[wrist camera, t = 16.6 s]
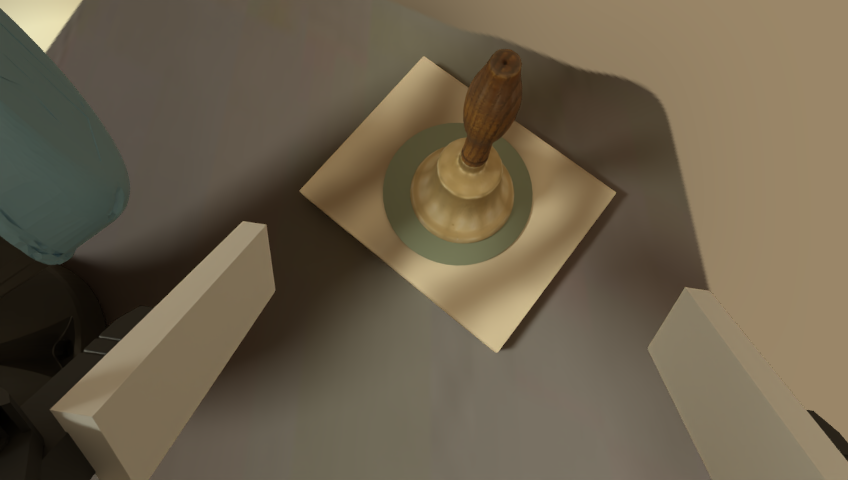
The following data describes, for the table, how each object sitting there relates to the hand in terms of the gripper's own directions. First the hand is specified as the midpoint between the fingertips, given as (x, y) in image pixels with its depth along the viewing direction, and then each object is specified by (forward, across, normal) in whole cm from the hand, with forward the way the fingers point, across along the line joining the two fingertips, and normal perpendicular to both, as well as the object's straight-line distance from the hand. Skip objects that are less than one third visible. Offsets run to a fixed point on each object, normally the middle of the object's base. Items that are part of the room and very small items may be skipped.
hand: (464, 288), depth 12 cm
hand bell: (+18, 0, -5) cm, 19 cm away
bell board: (+20, 0, -6) cm, 21 cm away
